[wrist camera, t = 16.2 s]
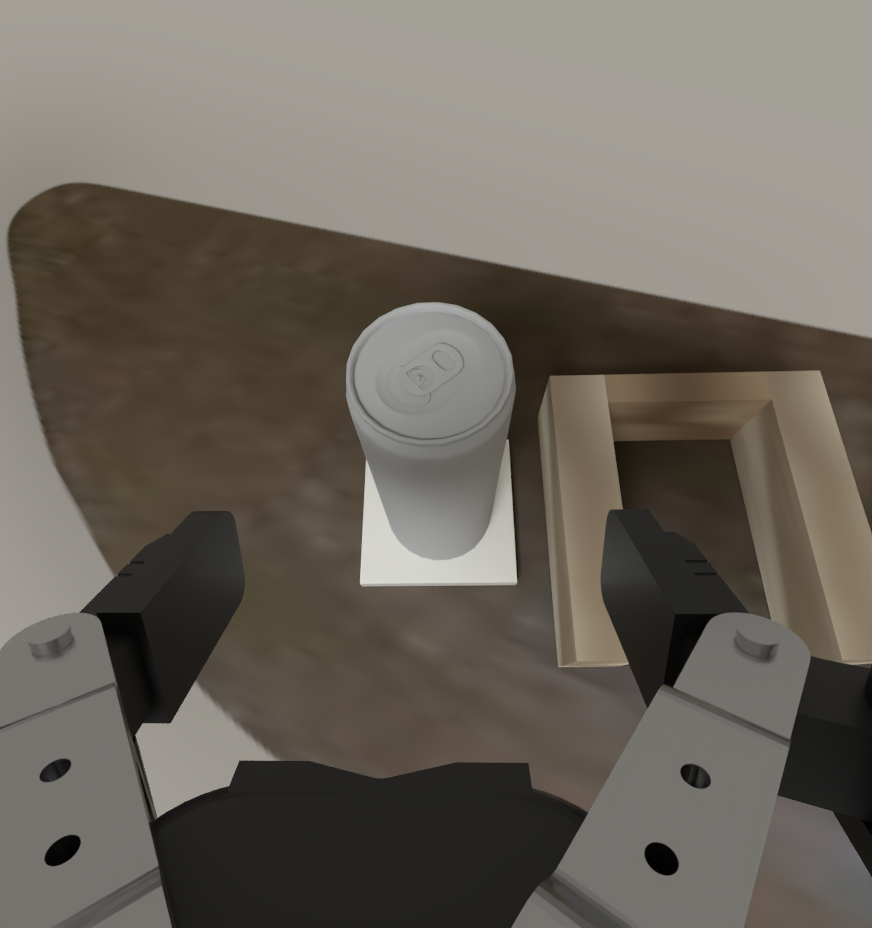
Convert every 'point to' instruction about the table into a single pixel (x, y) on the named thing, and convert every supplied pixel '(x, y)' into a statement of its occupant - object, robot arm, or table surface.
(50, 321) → the table surface
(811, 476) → the lane rack
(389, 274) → the table surface
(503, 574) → the tile
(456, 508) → the beverage can
